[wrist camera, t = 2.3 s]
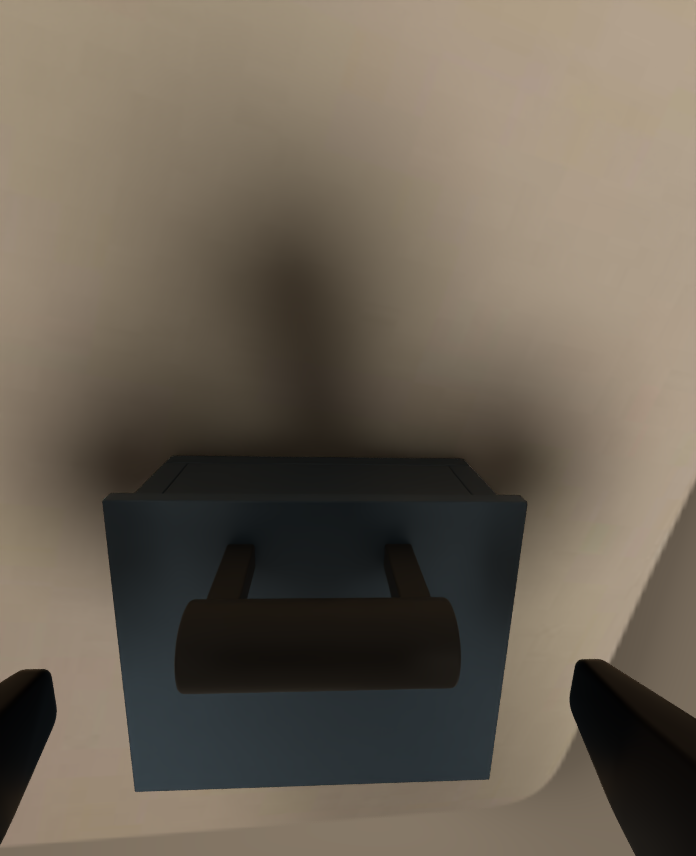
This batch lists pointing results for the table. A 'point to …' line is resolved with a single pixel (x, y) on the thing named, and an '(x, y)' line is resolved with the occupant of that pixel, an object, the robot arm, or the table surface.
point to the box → (315, 476)
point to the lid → (311, 635)
